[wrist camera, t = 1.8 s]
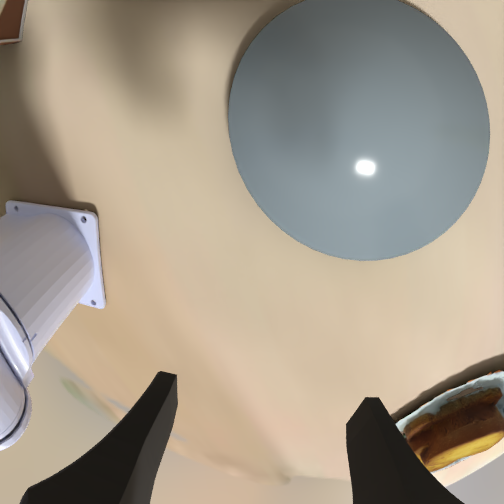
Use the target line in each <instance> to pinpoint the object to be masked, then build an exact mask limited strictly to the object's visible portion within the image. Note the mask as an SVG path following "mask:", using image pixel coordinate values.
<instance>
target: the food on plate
mask: <svg viewBox="0 0 504 504" xmlns="http://www.w3.org/2000/svg"><path fill="white" fill-rule="evenodd" d="M491 372H492V371H491ZM491 372H490V373H489V374H488V375H485V376H483V377H480V378H477V379H474V380H470V381H468V382H467V383H466V384H465V385H462V386H459V387H457V388H454V389H449V390H447V392H445V393H443V394H441V395H439V396H437V397H435V398H434V399H433V400H432V401H430V402H427V403H425V404H424V405H422V406H420V407H421V408H419V409H418V410H416V411H415V412H413V413H411V414H410V415H408V416H406V417H405V418H403V419H400V420H399V421H398V423H396V426H397V428H398V429H399V431H402V432H403V433H405V434H403V437H404V438H405V440H406V441H407V443H408V444H409V446H410V447H411V449H412V450H413V452H414V453H415V454H416V456H417V457H418V458H419V460H420V461H421V462H422V463H423V465H424V466H425V467H426V468H427V469H428V471H429V472H430V473H431V474H432V473H435V472H437V471H440V470H443V469H446V468H449V467H451V466H453V465H455V464H457V463H459V462H460V461H463V460H466V459H467V458H469V457H470V456H472V455H475V454H477V453H481V452H483V451H486V450H488V449H489V448H491V447H492V446H494V445H495V444H496V443H498V442H499V441H500V440H501V439H502V438H503V437H504V371H501V370H498V371H496V372H494V373H493V374H491ZM471 387H473V388H474V389H476V388H479V387H483V389H481V390H478V391H475V392H473V393H471V394H468V395H466V396H464V397H461V398H456V399H453V400H450V401H447V399H448V398H449V397H452V396H454V395H456V394H459V393H460V392H461V391H463V390H465V389H468V388H471Z"/></svg>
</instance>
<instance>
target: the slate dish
mask: <svg viewBox="0 0 504 504" xmlns="http://www.w3.org/2000/svg"><path fill="white" fill-rule="evenodd" d="M228 123H229V137H230V142H231V147H232V152H233V156H234V159H235V162H236V165H237V168H238V171H239V173H240V175H241V177H242V179H243V181H244V183H245V186H246V188H247V190H248V191H249V193H250V194H251V196H252V197H253V199H254V200H255V202H256V203H257V205H258V206H259V207H260V208H261V209H262V211H263V212H264V213H265V214H266V215H267V216H268V218H269V219H270V220H271V221H272V222H274V223H275V224H276V225H277V226H278V227H279V228H280V229H281V230H282V231H284V232H285V233H287V234H288V235H289V236H291V237H292V238H294V239H295V240H296V241H298V242H300V243H302V244H304V245H306V246H308V247H309V248H311V249H314V250H316V251H319V252H321V253H324V254H327V255H330V256H334V257H338V258H342V259H350V260H358V261H373V260H383V259H390V258H394V257H398V256H402V255H405V254H408V253H410V252H413V251H415V250H418V249H420V248H422V247H424V246H425V245H427V244H429V243H431V242H432V241H434V240H435V239H437V238H438V237H439V236H441V235H442V234H443V233H445V232H446V231H447V230H448V229H449V228H450V227H451V226H452V225H453V224H454V223H455V222H456V221H457V220H458V219H459V218H460V216H461V215H462V214H463V213H464V212H465V210H466V209H467V207H468V206H469V204H470V203H471V201H472V199H473V198H474V196H475V194H476V192H477V190H478V188H479V185H480V183H481V180H482V177H483V174H484V171H485V168H486V164H487V159H488V154H489V143H490V123H489V115H488V108H487V103H486V99H485V96H484V92H483V89H482V86H481V84H480V81H479V79H478V76H477V74H476V72H475V70H474V68H473V66H472V65H471V63H470V61H469V59H468V58H467V56H466V55H465V53H464V52H463V50H462V49H461V48H460V46H459V45H458V44H457V43H456V41H455V40H454V39H453V38H452V37H451V36H450V35H449V34H448V33H447V32H446V31H445V30H444V29H443V28H442V27H441V26H439V25H438V24H437V23H436V22H435V21H433V20H432V19H431V18H429V17H428V16H426V15H425V14H423V13H422V12H420V11H418V10H417V9H415V8H413V7H411V6H409V5H407V4H405V3H402V2H400V1H398V0H305V1H303V2H301V3H298V4H296V5H294V6H292V7H290V8H289V9H287V10H286V11H284V12H282V13H281V14H279V15H278V16H276V17H275V18H274V19H273V20H272V21H271V22H270V23H268V24H267V25H266V26H265V27H264V28H263V29H262V30H261V31H260V33H259V34H258V35H257V36H256V37H255V39H254V40H253V41H252V42H251V44H250V45H249V47H248V49H247V51H246V52H245V54H244V56H243V57H242V59H241V61H240V64H239V66H238V69H237V71H236V74H235V76H234V80H233V84H232V89H231V93H230V99H229V111H228Z"/></svg>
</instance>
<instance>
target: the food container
mask: <svg viewBox="0 0 504 504" xmlns="http://www.w3.org/2000/svg"><path fill="white" fill-rule="evenodd" d="M27 4H28V0H0V45H6V44H14V43H17V42H20V41H22V34H23V27H24V21H25V15H26V9H27Z"/></svg>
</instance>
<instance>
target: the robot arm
mask: <svg viewBox="0 0 504 504" xmlns="http://www.w3.org/2000/svg"><path fill="white" fill-rule="evenodd" d="M83 216H84V217H86V220H87V221H85V220H84V218H83ZM93 300H94V301H95V302H94V301H93ZM77 303H81V304H84V305H88V306H92V307H95V308H99V309H103V308H104V307H105V305H106V299H105V292H104V284H103V276H102V267H101V256H100V245H99V230H98V218H97V216H96V214H95V213H93V212H90V211H83V210H76V209H69V208H63V207H56V206H49V205H42V204H35V203H28V202H21V201H13V200H9V201H7V202H6V214H5V215H4V216H2V217H0V451H1V450H4V449H6V448H8V447H10V446H11V445H13V444H14V443H15V442H16V441H17V440H18V439H19V438H20V437H21V436H22V434H23V433H24V432H25V430H26V428H27V426H28V423H29V421H30V417H31V412H32V403H31V397H30V394H29V391H28V389H27V387H28V385H29V384H30V382H31V380H32V379H33V377H34V374H33V372H32V369H31V366H32V363H33V362H34V361H35V359H36V358H37V356H38V355H39V353H40V352H41V351H42V349H43V348H44V347H45V345H46V344H47V343H48V341H49V340H50V338H51V337H52V336H53V334H54V333H55V332H56V330H57V329H58V328H59V326H60V325H61V324H62V323H63V321H64V320H65V319H66V317H67V316H68V315H69V314H70V312H71V311H72V310H73V308H74V307H75V306H76V305H77ZM177 406H178V399H177V375H176V374H171V373H167V372H163V371H160V372H158V373H157V375H156V376H155V378H154V379H153V381H152V382H151V384H150V385H149V387H148V388H147V389H146V391H145V392H144V393H143V395H142V396H141V397H140V399H139V400H138V401H137V402H136V404H135V405H134V406H133V407H132V408H131V410H130V411H129V412H128V413H127V414H126V415H125V417H124V418H123V419H122V420H121V421H120V422H119V423H118V424H117V425H116V426H115V427H114V428H113V429H112V430H111V431H110V432H109V433H108V434H107V435H106V436H105V437H104V438H103V439H102V440H101V441H100V442H99V443H97V444H96V445H95V446H94V447H93V448H92V449H90V450H89V451H88V452H87V453H85V454H84V455H83V456H81V457H80V458H79V459H77V460H76V461H75V462H73V463H72V464H70V465H69V466H67V467H66V468H64V469H62V470H61V471H59V472H58V473H56V474H54V475H53V476H51V477H49V478H47V479H46V480H43V481H41V482H39V483H37V484H35V485H33V486H31V487H29V488H28V489H27V491H26V492H25V494H24V495H23V497H22V499H21V502H20V504H150V499H151V494H152V490H153V485H154V480H155V477H156V474H157V471H158V468H159V465H160V462H161V459H162V456H163V454H164V451H165V448H166V445H167V442H168V439H169V436H170V433H171V431H172V428H173V423H174V419H175V414H176V410H177ZM346 444H347V454H348V461H349V468H350V476H351V483H352V492H353V504H464V503H463V502H462V501H460V500H459V499H457V498H456V497H455V496H454V495H453V494H451V493H450V492H449V491H448V490H447V489H446V488H445V487H444V486H443V485H442V484H441V483H440V482H439V481H438V480H437V479H436V478H435V477H434V476H433V475H432V474H431V473H430V472H429V471H428V469H427V468H426V467H425V466H424V465H423V463H422V462H421V461H420V460H419V458H418V457H417V456H416V454H415V453H414V452H413V450H412V449H411V447H410V446H409V444H408V443H407V441H406V440H405V438H404V437H403V435H402V434H401V432H400V431H399V429H398V428H397V426H396V424H395V423H394V421H393V419H392V418H391V416H390V415H389V413H388V411H387V410H386V408H385V407H384V405H383V403H382V402H381V400H380V399H379V397H365V399H364V400H363V402H362V403H361V404H360V406H359V407H358V409H357V410H356V412H355V413H354V414H353V416H352V417H351V418H350V420H349V421H348V422H347V424H346Z"/></svg>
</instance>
